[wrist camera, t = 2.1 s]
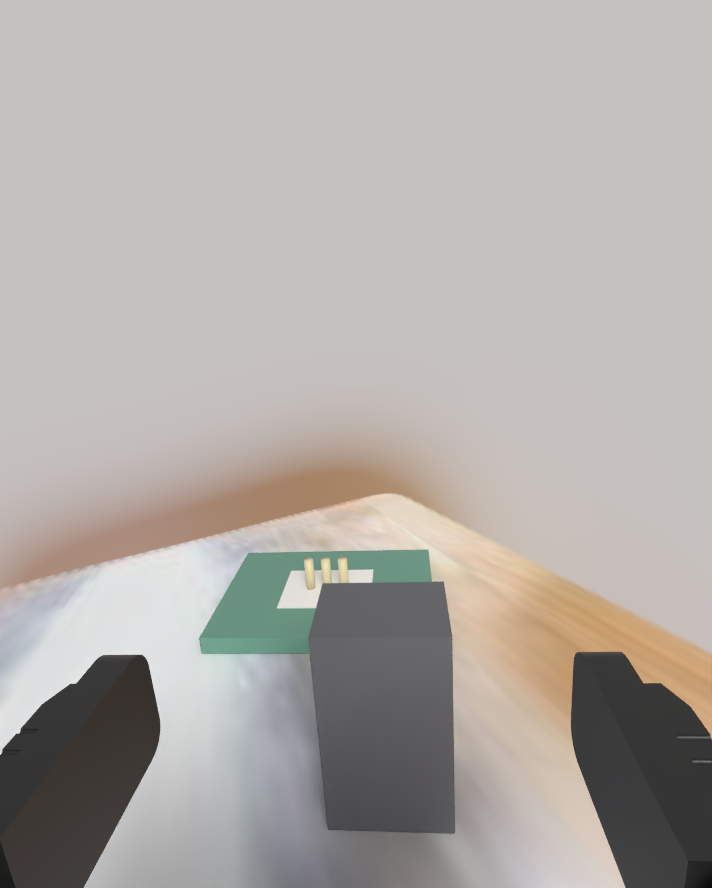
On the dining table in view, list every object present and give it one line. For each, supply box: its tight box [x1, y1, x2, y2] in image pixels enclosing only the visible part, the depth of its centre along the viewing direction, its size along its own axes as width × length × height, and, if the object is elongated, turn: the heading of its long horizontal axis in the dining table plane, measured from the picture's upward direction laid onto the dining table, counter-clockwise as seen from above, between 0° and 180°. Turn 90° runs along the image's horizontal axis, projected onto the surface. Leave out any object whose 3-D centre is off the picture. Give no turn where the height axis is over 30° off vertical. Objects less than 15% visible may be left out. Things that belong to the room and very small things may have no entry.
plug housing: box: [308, 582, 455, 833], centre depth 24 cm, size 6×4×10 cm
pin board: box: [199, 550, 432, 653], centre depth 40 cm, size 16×12×4 cm
